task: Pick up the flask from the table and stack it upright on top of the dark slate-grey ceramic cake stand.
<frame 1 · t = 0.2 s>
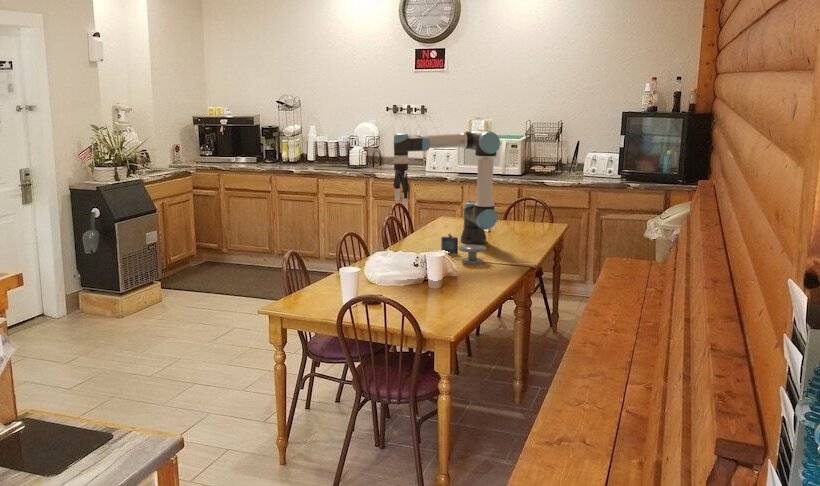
hand: (401, 202, 396), 28 cm above the table, tool pointing down, fingers open, 13 cm apart
cake stand: (472, 261, 381), on the table
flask: (449, 253, 401), on the table
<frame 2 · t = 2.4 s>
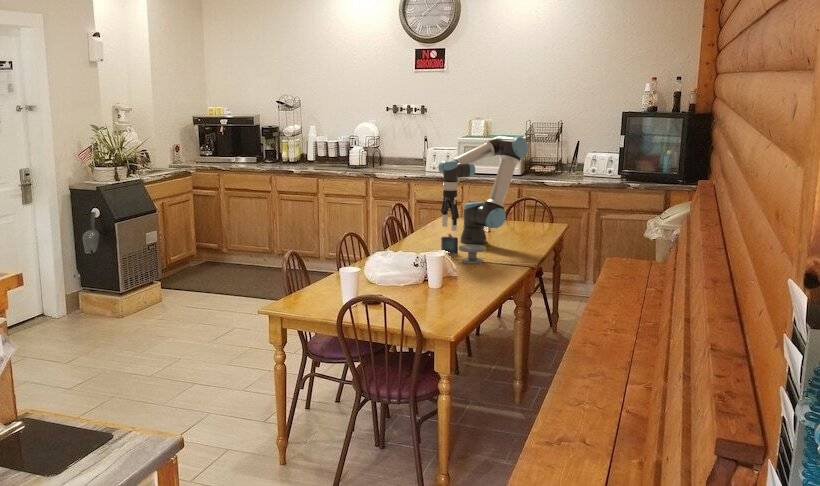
hand: (449, 228, 397), 14 cm above the table, tool pointing down, fingers open, 13 cm apart
nothing on the table moved.
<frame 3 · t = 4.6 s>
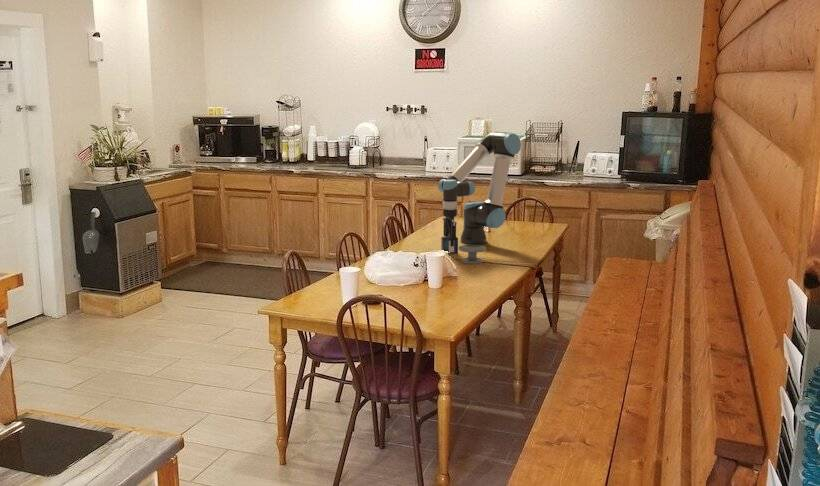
hand: (449, 250, 400), 1 cm above the table, tool pointing down, fingers closed on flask, 5 cm apart
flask: (449, 253, 401), on the table, touching gripper
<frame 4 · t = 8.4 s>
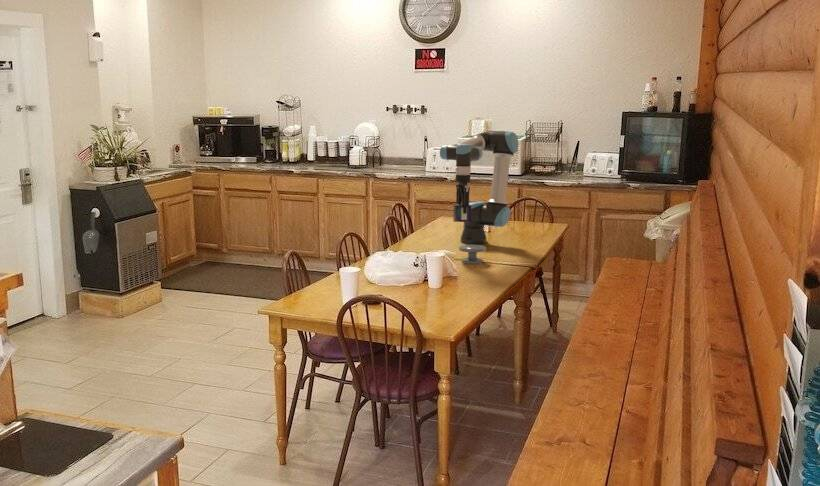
hand: (462, 218, 385), 21 cm above the table, tool pointing down, fingers closed on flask, 5 cm apart
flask: (462, 222, 385), point 19 cm above the table, touching gripper
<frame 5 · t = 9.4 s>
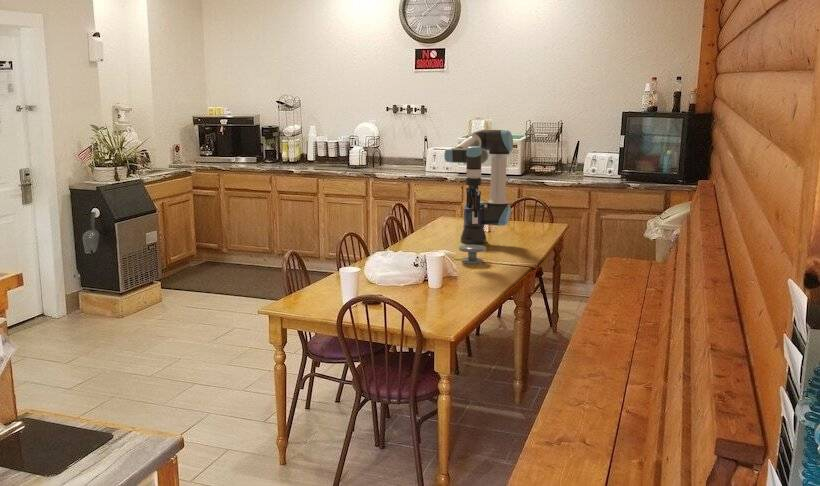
hand: (472, 222, 377), 21 cm above the table, tool pointing down, fingers closed on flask, 5 cm apart
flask: (473, 226, 377), point 19 cm above the table, touching gripper
when the fingers open (10 cm above the table, at t = 11.5 s): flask stays where it is, resting on cake stand.
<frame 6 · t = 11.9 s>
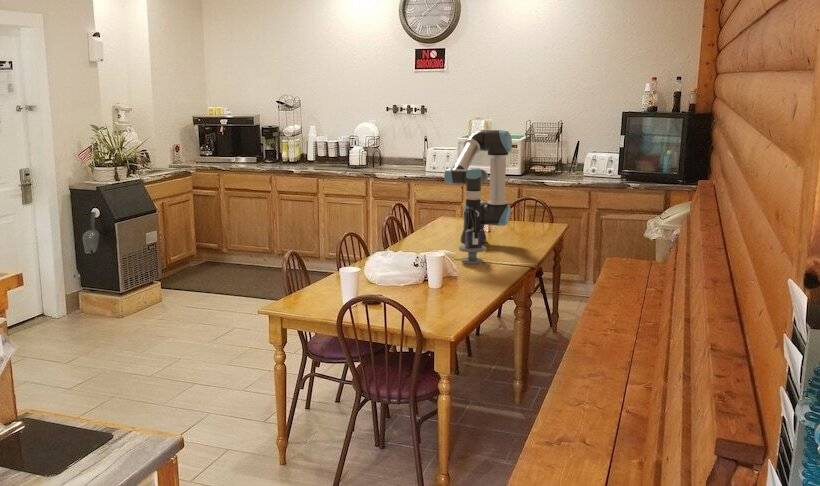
hand: (472, 242, 379), 10 cm above the table, tool pointing down, fingers open, 6 cm apart
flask: (473, 247, 380), point 7 cm above the table, touching cake stand
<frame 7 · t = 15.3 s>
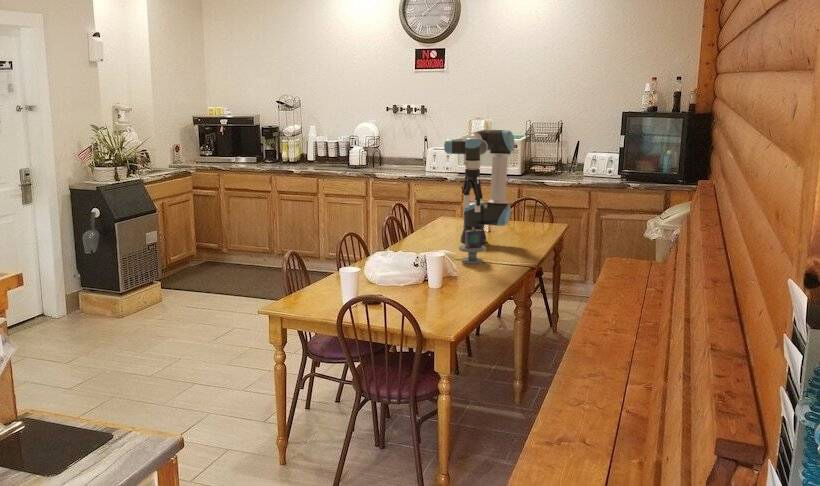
hand: (472, 209, 378), 27 cm above the table, tool pointing down, fingers open, 13 cm apart
nothing on the table moved.
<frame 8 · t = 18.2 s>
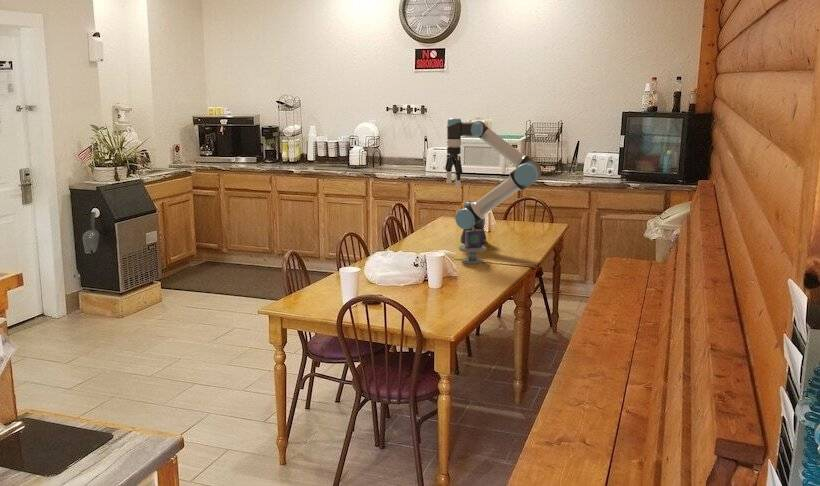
hand: (453, 184, 413), 35 cm above the table, tool pointing down, fingers open, 13 cm apart
nothing on the table moved.
at the end: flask inside the target area on the cake stand (0.4 cm from its centre), point 7.3 cm above the cake stand's base; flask tilted 0°; the gripper is holding nothing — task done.
